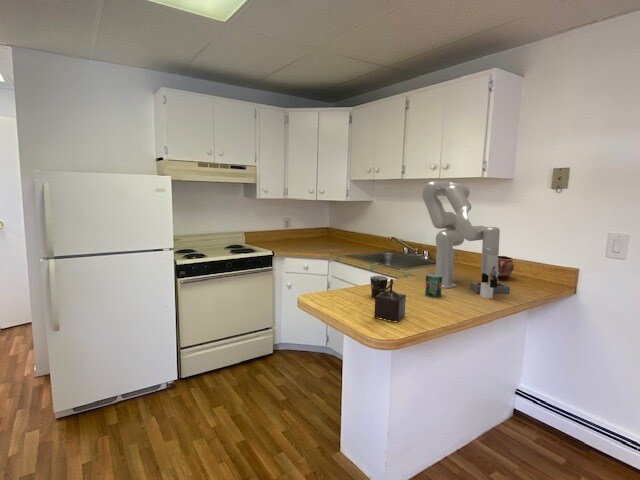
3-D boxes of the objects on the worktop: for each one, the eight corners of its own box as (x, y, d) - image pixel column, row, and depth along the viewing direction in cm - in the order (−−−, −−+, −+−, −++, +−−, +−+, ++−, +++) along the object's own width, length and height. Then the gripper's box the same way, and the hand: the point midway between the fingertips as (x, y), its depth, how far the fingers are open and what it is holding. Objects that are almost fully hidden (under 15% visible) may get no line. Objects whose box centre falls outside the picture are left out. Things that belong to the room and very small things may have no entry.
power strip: (476, 293, 190) (477, 285, 190) (465, 284, 206) (465, 278, 206) (509, 293, 190) (510, 286, 189) (495, 285, 206) (495, 278, 205)
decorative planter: (513, 284, 208) (515, 261, 206) (490, 282, 213) (491, 259, 212) (511, 277, 226) (513, 255, 224) (490, 275, 231) (491, 253, 229)
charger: (483, 298, 182) (484, 284, 181) (479, 295, 186) (481, 282, 185) (492, 298, 182) (493, 284, 181) (488, 295, 186) (489, 282, 185)
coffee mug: (385, 300, 175) (386, 280, 174) (367, 298, 178) (368, 278, 177) (389, 294, 186) (390, 275, 184) (372, 292, 189) (373, 273, 187)
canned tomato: (443, 297, 181) (445, 276, 180) (429, 298, 180) (430, 276, 178) (436, 293, 189) (437, 272, 187) (422, 293, 188) (423, 273, 186)
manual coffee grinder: (381, 310, 161) (382, 271, 158) (405, 315, 155) (407, 274, 152) (367, 321, 147) (368, 278, 145) (393, 327, 142) (395, 282, 139)
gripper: (475, 249, 189) (474, 281, 191) (490, 254, 172) (489, 289, 174) (490, 249, 189) (488, 281, 191) (506, 254, 171) (504, 289, 173)
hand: (489, 285), depth 182 cm, fingers open, 9 cm apart
